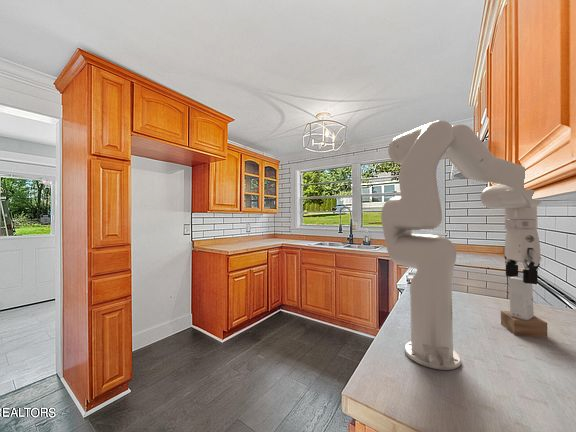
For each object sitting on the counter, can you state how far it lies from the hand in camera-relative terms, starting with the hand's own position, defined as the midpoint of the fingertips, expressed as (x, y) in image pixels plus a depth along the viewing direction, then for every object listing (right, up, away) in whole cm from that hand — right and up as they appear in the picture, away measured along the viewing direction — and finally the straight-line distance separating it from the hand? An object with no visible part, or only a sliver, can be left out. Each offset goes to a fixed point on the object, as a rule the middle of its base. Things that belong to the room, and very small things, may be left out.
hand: (520, 279), depth 79 cm
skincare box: (+1, -12, 0) cm, 12 cm away
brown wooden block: (+1, -16, 0) cm, 16 cm away
